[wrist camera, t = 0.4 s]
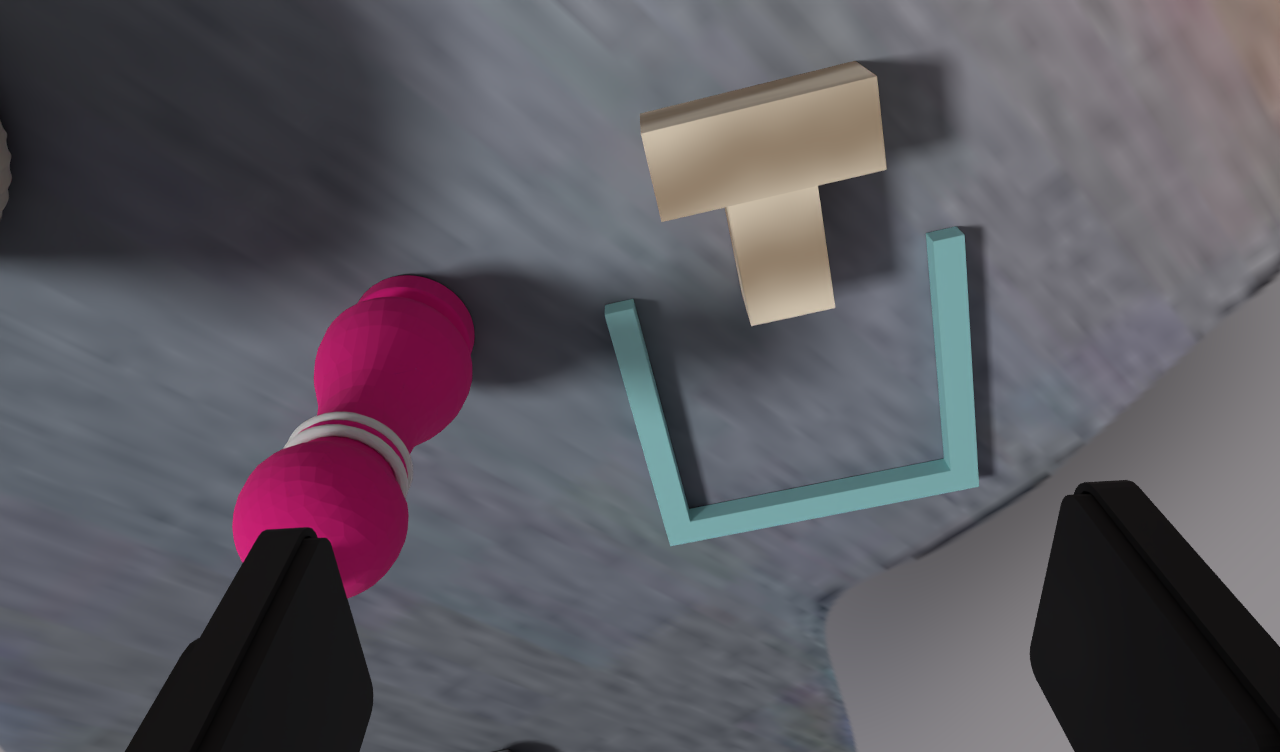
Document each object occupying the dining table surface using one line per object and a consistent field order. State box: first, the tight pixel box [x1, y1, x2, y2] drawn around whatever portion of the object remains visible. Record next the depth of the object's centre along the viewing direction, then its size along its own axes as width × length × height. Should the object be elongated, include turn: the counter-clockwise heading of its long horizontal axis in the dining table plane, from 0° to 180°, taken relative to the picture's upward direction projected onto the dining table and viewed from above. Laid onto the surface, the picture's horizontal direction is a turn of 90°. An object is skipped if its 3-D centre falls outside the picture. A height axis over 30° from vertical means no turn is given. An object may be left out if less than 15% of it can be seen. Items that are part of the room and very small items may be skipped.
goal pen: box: [605, 227, 979, 546], centre depth 47 cm, size 16×18×1 cm
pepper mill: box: [232, 275, 475, 598], centre depth 37 cm, size 7×7×20 cm
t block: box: [640, 61, 887, 326], centre depth 40 cm, size 10×10×4 cm
